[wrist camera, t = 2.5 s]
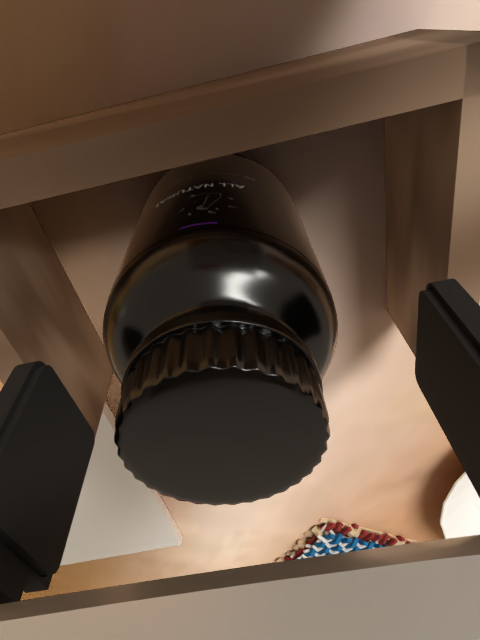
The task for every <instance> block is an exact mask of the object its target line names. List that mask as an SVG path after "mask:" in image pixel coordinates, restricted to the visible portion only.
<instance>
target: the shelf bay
mask: <svg viewBox="0 0 480 640" xmlns="http://www.w3.org/2000/svg"><path fill="white" fill-rule="evenodd" d="M384 117H385V172H386V259H387V311H388V313H389V315H390V316H391V318H392V320H393V321H394V323H395V324H396V326H397V328H398V329H399V331H400V333H401V334H402V336H403V337H404V339H405V341H406V342H407V344H408V345H409V347H410V349H411V350H412V352H413V354H414V355H415V357H416V340H417V319H418V298H419V292H420V291H422V290H426V286H427V284H428V283H431V282H436V281H441V280H446V279H451V278H453V279H455V280H457V281H458V282H459V284H460V285H461V286H462V287H463V288H464V289H465V290H466V291H467V292H468V294H469V295H470V296H471V297H472V298H473V299H474V300H475V301H476V302H477V304H478V305H479V301H480V31H462V30H427V29H417V30H413V31H409V32H405V33H401V34H397V35H393V36H389V37H385V38H381V39H377V40H373V41H369V42H365V43H361V44H357V45H353V46H349V47H346V48H342V49H338V50H334V51H330V52H326V53H322V54H318V55H314V56H310V57H306V58H302V59H298V60H294V61H290V62H286V63H282V64H278V65H275V66H271V67H267V68H263V69H259V70H255V71H251V72H247V73H243V74H239V75H235V76H231V77H227V78H223V79H219V80H215V81H211V82H207V83H204V84H200V85H196V86H192V87H188V88H184V89H180V90H176V91H172V92H168V93H164V94H160V95H156V96H152V97H148V98H144V99H140V100H136V101H133V102H129V103H125V104H121V105H117V106H113V107H109V108H105V109H101V110H97V111H93V112H89V113H85V114H81V115H77V116H73V117H69V118H65V119H62V120H58V121H54V122H50V123H46V124H42V125H38V126H34V127H30V128H26V129H22V130H18V131H14V132H10V133H6V134H2V135H0V380H1V382H2V383H3V384H5V383H6V381H7V379H8V377H9V376H10V374H11V372H12V370H13V369H14V368H15V366H17V365H20V364H25V363H30V362H35V361H42V362H43V363H45V365H50V366H51V367H52V368H53V369H54V371H55V372H56V374H57V375H58V377H59V378H60V380H61V382H62V383H63V385H64V386H65V388H66V389H67V391H68V392H69V394H70V395H71V397H72V398H73V400H74V401H75V403H76V405H77V406H78V408H79V409H80V411H81V412H82V414H83V415H84V417H85V418H86V420H87V421H88V423H89V425H90V426H91V428H92V429H93V431H94V435H95V437H96V433H97V429H98V426H99V422H100V418H101V415H102V411H103V407H104V404H105V400H106V397H107V393H108V389H109V386H110V382H111V378H112V375H113V369H112V367H111V364H110V362H109V359H108V356H107V353H106V349H105V348H104V346H103V344H102V342H101V340H100V338H99V336H98V334H97V332H96V330H95V328H94V326H93V324H92V323H91V321H90V319H89V317H88V315H87V313H86V311H85V309H84V307H83V305H82V303H81V301H80V300H79V298H78V296H77V294H76V292H75V290H74V288H73V286H72V284H71V282H70V280H69V278H68V277H67V275H66V273H65V271H64V269H63V267H62V265H61V263H60V261H59V259H58V257H57V255H56V253H55V252H54V250H53V248H52V246H51V244H50V242H49V240H48V238H47V236H46V234H45V232H44V230H43V229H42V227H41V225H40V223H39V221H38V219H37V217H36V215H35V213H34V211H33V209H32V207H31V205H30V204H29V202H33V201H38V200H42V199H46V198H50V197H54V196H58V195H63V194H67V193H71V192H75V191H79V190H83V189H88V188H92V187H96V186H100V185H104V184H108V183H113V182H117V181H121V180H125V179H129V178H133V177H138V176H142V175H146V174H150V173H154V172H158V171H163V170H167V169H171V168H175V167H179V166H184V165H188V164H192V163H196V162H200V161H204V160H209V159H213V158H217V157H221V156H225V155H229V154H234V153H238V152H242V151H246V150H250V149H254V148H259V147H263V146H267V145H271V144H275V143H279V142H284V141H288V140H292V139H296V138H300V137H304V136H309V135H313V134H317V133H321V132H325V131H330V130H334V129H338V128H342V127H346V126H350V125H355V124H359V123H363V122H367V121H371V120H375V119H380V118H384Z"/></svg>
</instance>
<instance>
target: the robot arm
mask: <svg viewBox="0 0 480 640" xmlns="http://www.w3.org/2000/svg"><path fill="white" fill-rule="evenodd" d="M415 375H416V380H417V383H418V385H419V387H420V389H421V391H422V393H423V395H424V396H425V398H426V400H427V402H428V404H429V406H430V407H431V409H432V411H433V413H434V415H435V417H436V419H437V420H438V422H439V424H440V426H441V428H442V430H443V431H444V433H445V435H446V437H447V439H448V441H449V442H450V444H451V446H452V448H453V450H454V452H455V454H456V455H457V457H458V459H459V461H460V463H461V465H462V466H463V468H464V470H465V472H466V474H467V476H468V478H469V479H470V481H471V483H472V485H473V487H474V489H475V490H476V492H477V494H478V496H479V498H480V306H479V305H478V304H477V302H476V301H475V300H474V299H473V298H472V297H471V296H470V295H469V294H468V292H467V291H466V290H465V289H464V288H463V287H462V286H461V285H460V284H459V282H458V281H457V280H455V279H453V278H451V279H446V280H441V281H436V282H431V283H428V284H427V286H426V290H422V291H420V292H419V298H418V319H417V340H416V361H415ZM94 443H95V435H94V431H93V429H92V428H91V426H90V425H89V423H88V421H87V420H86V418H85V417H84V415H83V414H82V412H81V411H80V409H79V408H78V406H77V405H76V403H75V401H74V400H73V398H72V397H71V395H70V394H69V392H68V391H67V389H66V388H65V386H64V385H63V383H62V382H61V380H60V378H59V377H58V375H57V374H56V372H55V371H54V369H53V368H52V367H51V366H50V365H45V363H43V362H42V361H35V362H30V363H25V364H20V365H17V366H15V368H14V369H13V370H12V372H11V374H10V376H9V377H8V379H7V381H6V383H5V384H4V386H3V388H2V390H1V391H0V640H480V535H473V536H465V537H457V538H449V539H441V540H432V541H424V542H416V543H409V544H401V545H394V546H387V547H380V548H373V549H366V550H359V551H352V552H345V553H338V554H331V555H324V556H317V557H310V558H303V559H296V560H288V561H282V562H275V563H268V564H261V565H254V566H247V567H240V568H234V569H227V570H220V571H213V572H206V573H200V574H193V575H186V576H179V577H172V578H166V579H159V580H152V581H145V582H139V583H132V584H126V585H119V586H113V587H106V588H99V589H93V590H86V591H80V592H73V593H67V594H60V595H53V596H47V597H40V598H34V599H28V600H22V601H20V599H21V596H22V593H23V591H25V592H26V593H28V592H35V591H41V590H48V588H49V585H50V581H51V578H52V575H53V574H55V573H56V572H57V570H58V569H59V566H60V564H61V560H62V557H63V553H64V550H65V546H66V542H67V539H68V535H69V532H70V528H71V525H72V521H73V518H74V514H75V511H76V507H77V504H78V500H79V497H80V493H81V489H82V486H83V482H84V479H85V475H86V472H87V468H88V465H89V461H90V458H91V454H92V451H93V447H94Z"/></svg>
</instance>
